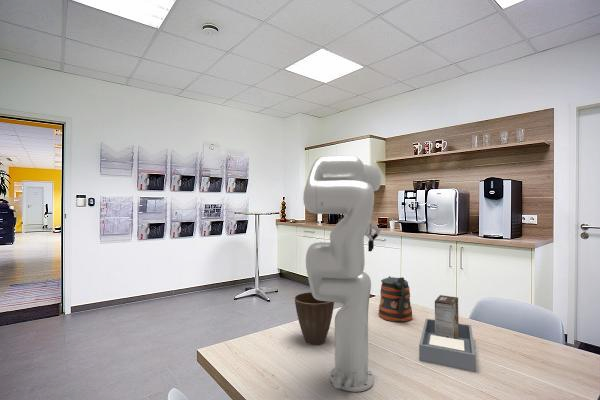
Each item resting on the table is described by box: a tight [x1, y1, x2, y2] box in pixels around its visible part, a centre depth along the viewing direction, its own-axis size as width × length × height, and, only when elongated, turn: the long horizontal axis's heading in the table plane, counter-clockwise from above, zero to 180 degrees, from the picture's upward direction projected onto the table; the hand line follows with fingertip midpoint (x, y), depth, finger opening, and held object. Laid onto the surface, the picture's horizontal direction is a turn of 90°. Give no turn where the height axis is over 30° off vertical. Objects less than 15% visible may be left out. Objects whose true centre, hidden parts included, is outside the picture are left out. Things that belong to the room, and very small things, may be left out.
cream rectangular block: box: [429, 335, 465, 352], centre depth 101 cm, size 8×10×5 cm
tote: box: [418, 318, 477, 373], centre depth 107 cm, size 26×16×6 cm, turn 154°
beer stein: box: [378, 275, 413, 323], centre depth 138 cm, size 19×15×20 cm
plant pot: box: [294, 291, 335, 346], centre depth 116 cm, size 15×15×16 cm
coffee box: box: [434, 294, 460, 340], centre depth 110 cm, size 9×6×16 cm
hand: (357, 250), depth 118 cm, fingers open, 9 cm apart
